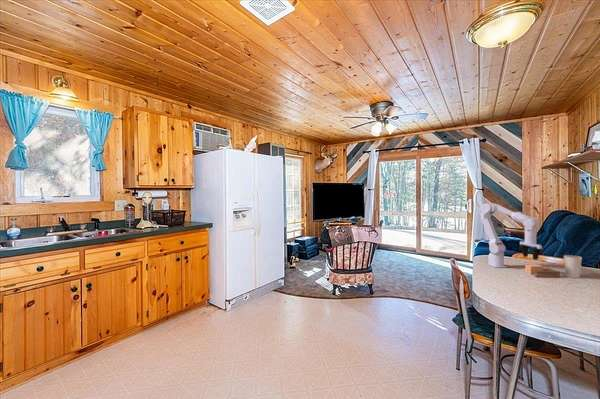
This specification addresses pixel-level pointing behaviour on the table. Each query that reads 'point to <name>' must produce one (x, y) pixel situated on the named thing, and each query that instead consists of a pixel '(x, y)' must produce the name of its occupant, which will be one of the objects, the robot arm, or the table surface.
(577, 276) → the cup
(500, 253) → the robot arm
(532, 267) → the block
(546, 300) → the table surface
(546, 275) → the wooden l-shaped bracket
